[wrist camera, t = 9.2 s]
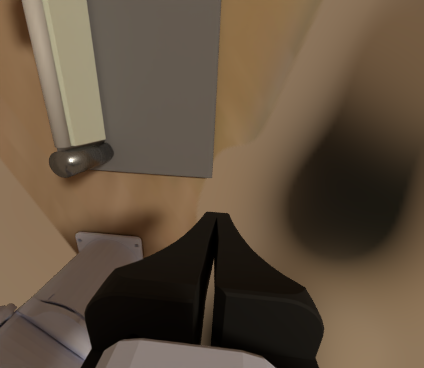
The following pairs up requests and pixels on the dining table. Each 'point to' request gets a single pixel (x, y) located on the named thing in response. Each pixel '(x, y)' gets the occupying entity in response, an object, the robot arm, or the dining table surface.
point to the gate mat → (157, 83)
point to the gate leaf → (66, 69)
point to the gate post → (80, 158)
